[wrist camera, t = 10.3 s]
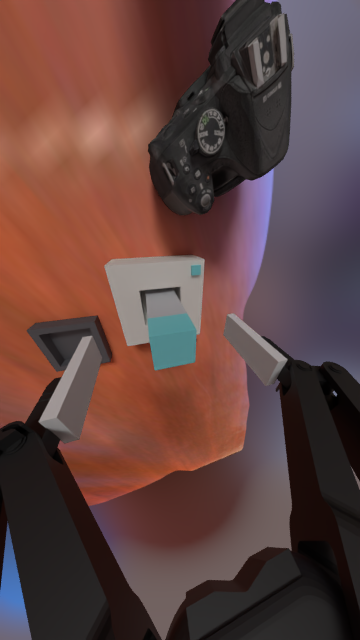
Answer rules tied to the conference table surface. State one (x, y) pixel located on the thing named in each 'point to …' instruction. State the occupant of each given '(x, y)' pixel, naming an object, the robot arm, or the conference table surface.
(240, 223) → the conference table surface
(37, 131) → the conference table surface
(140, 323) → the port panel
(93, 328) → the dark grey square tray
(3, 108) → the conference table surface
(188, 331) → the plug
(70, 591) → the robot arm
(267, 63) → the camera
